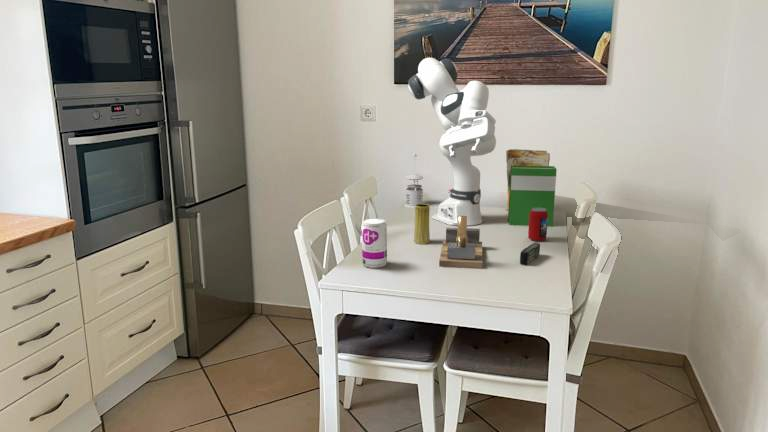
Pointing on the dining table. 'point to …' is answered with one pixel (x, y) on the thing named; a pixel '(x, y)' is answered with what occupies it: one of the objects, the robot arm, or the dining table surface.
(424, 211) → the vase
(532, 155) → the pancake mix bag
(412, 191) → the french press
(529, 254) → the mobile phone
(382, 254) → the supplement can
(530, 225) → the beverage can
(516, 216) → the hardback book
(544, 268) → the dining table surface
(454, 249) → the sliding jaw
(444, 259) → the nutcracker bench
